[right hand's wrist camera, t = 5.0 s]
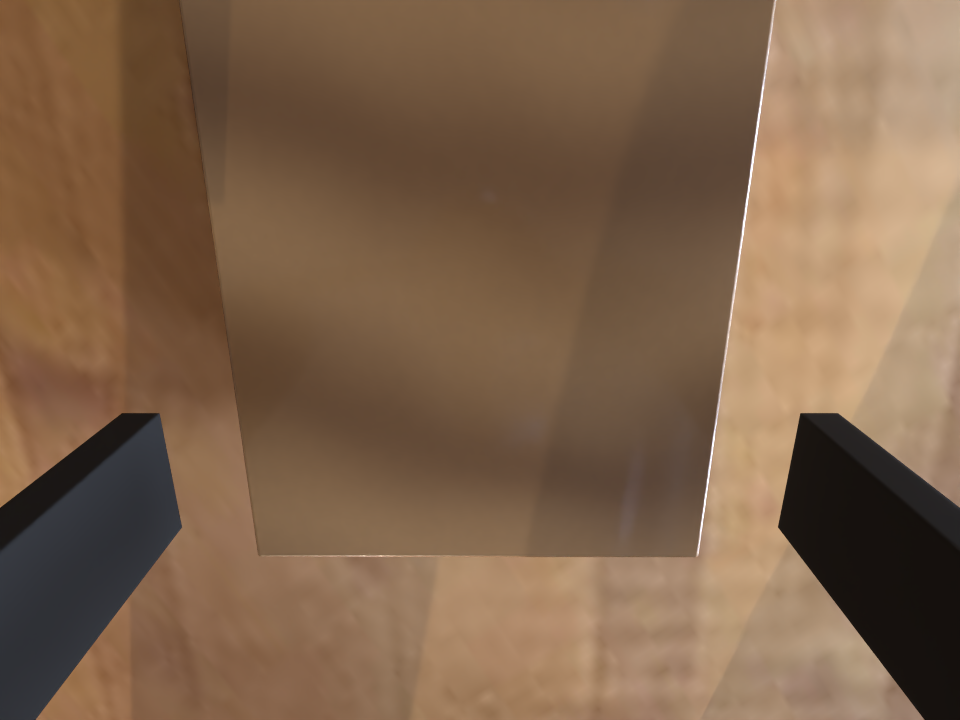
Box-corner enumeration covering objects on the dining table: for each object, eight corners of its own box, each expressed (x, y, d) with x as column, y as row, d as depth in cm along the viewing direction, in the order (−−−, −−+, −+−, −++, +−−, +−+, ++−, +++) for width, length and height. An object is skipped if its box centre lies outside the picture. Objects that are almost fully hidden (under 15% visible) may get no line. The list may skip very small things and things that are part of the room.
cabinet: (298, -204, 19) (89, -604, 9) (659, -205, 19) (864, -606, 9) (345, 394, 26) (257, 558, 16) (612, 394, 26) (699, 559, 16)
